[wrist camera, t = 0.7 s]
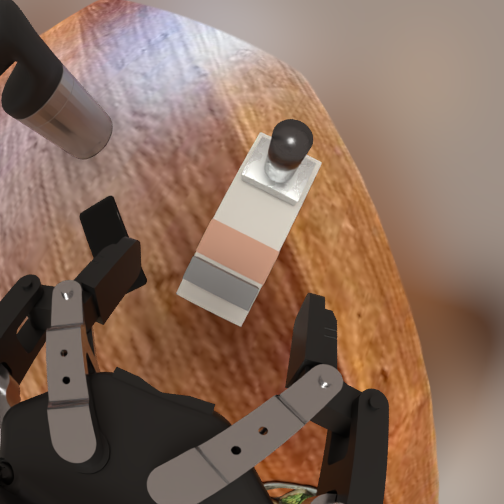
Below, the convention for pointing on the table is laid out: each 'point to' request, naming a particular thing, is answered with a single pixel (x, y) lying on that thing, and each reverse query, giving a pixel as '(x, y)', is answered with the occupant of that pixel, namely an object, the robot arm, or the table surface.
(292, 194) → the press jaw
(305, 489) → the salad plate
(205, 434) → the robot arm
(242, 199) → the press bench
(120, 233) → the smartphone
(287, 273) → the table surface
